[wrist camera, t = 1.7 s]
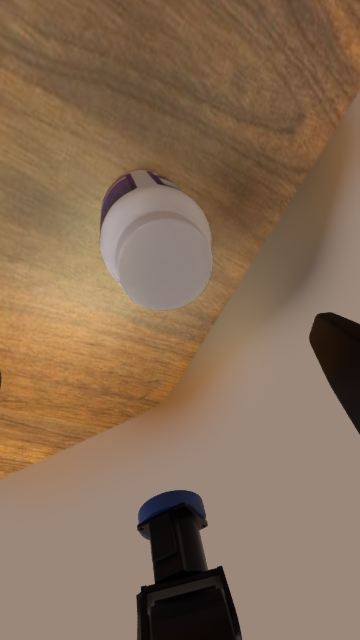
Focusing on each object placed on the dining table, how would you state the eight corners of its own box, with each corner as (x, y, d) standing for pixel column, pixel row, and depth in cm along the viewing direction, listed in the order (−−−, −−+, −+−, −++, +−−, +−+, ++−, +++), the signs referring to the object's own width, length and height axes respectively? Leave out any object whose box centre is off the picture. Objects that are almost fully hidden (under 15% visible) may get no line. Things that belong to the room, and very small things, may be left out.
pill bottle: (113, 260, 22) (116, 337, 14) (90, 177, 19) (78, 214, 11) (188, 244, 23) (233, 310, 15) (177, 161, 20) (226, 185, 12)
